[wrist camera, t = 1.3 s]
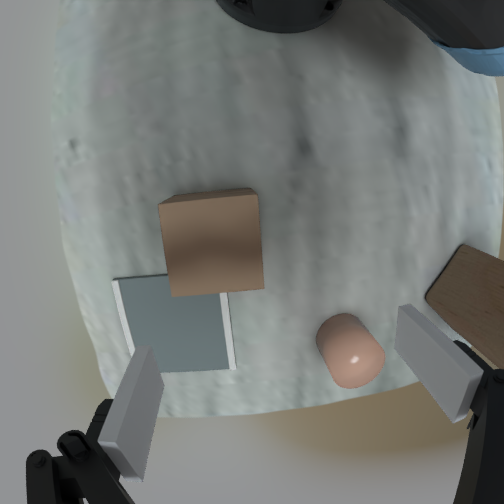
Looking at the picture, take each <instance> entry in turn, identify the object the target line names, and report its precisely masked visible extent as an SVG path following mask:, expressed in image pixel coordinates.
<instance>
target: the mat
mask: <svg viewBox="0 0 504 504" xmlns="http://www.w3.org/2000/svg"><path fill="white" fill-rule="evenodd" d="M111 282H112V286H113V290H114V295H115V299H116V303H117V307H118V311H119V315H120V319H121V323H122V326H123V330H124V334H125V337H126V341H127V344H128V347H129V351H130V354H131V357H132V356H133V354H134V351H135V349H136V347H137V346H143V345H151V348H152V351H153V354H154V357H155V360H156V363H157V366H158V369H159V372H160V373H161V372H189V371H207V370H221V369H230V370H236V361H235V354H234V346H233V338H232V329H231V321H230V313H229V304H228V295H227V292H226V293H215V294H203V295H191V296H179V297H172V295H171V289H170V283H169V277H168V274H163V275H151V276H139V277H127V278H115V279H113V280H112V281H111Z"/></svg>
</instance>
